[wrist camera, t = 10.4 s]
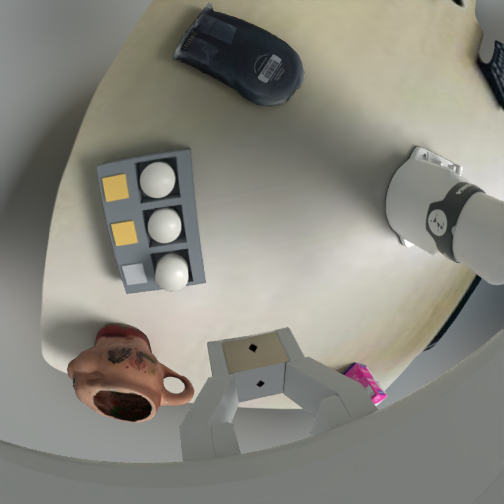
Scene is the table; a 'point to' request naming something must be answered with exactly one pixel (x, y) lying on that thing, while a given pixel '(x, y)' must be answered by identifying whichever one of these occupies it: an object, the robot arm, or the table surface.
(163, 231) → the middle button
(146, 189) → the end button
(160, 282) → the button
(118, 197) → the button panel
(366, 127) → the table surface
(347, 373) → the supplement box
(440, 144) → the table surface
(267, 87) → the electronic device
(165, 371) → the character mug
